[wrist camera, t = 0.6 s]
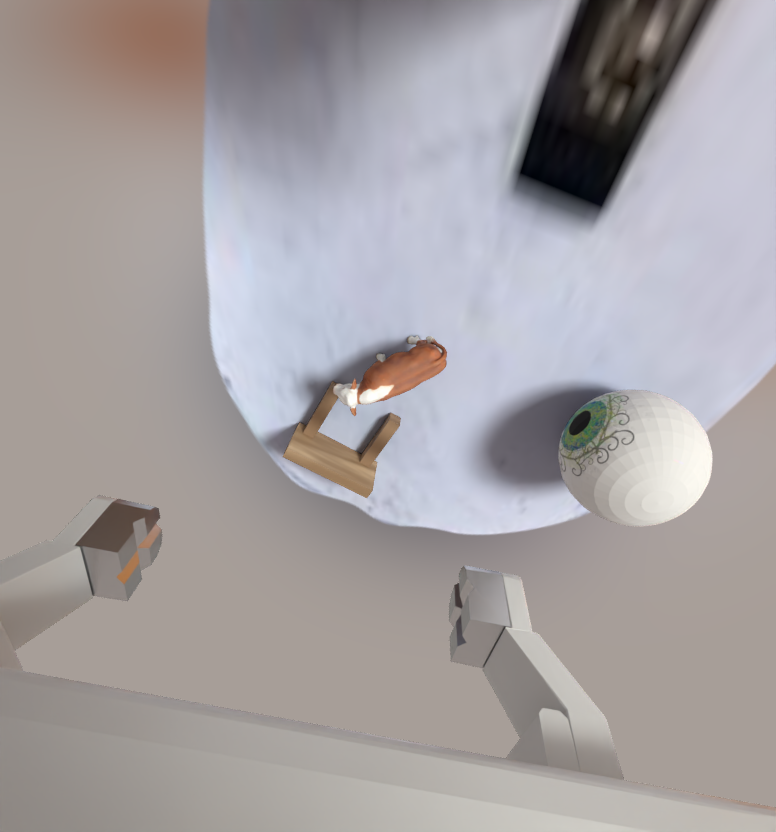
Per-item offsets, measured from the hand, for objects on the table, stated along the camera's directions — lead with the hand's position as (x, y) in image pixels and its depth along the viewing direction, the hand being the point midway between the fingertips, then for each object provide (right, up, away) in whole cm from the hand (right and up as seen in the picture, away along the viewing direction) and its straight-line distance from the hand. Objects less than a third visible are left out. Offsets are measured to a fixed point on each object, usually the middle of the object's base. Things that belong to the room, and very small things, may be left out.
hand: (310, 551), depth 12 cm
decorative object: (+30, +3, +45) cm, 54 cm away
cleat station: (-3, +3, +48) cm, 48 cm away
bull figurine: (+3, +11, +43) cm, 45 cm away
